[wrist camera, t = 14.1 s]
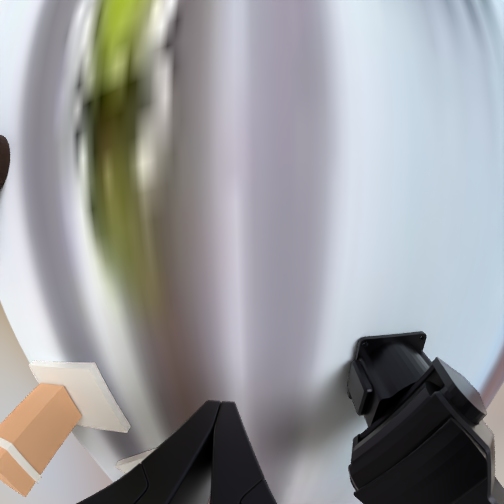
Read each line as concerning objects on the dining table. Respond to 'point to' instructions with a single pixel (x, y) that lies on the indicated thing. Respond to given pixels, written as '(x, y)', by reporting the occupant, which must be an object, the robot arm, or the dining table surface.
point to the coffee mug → (4, 159)
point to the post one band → (35, 435)
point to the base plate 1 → (84, 392)
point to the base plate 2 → (132, 461)
